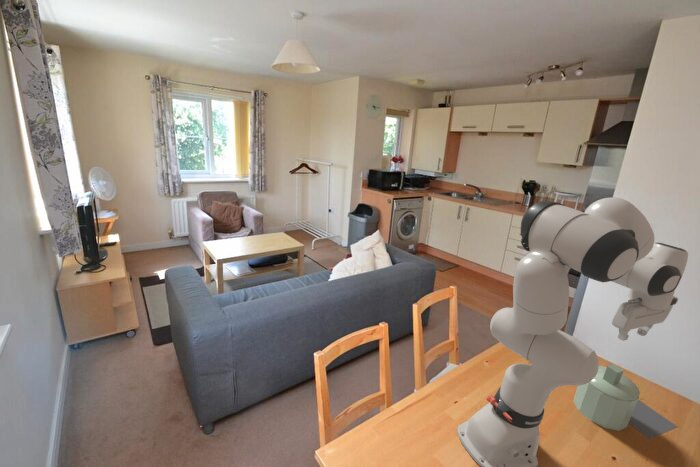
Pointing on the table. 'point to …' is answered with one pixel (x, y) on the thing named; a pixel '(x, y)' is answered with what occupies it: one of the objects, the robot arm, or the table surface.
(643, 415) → the slate mat
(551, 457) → the table surface
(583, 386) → the cloche
